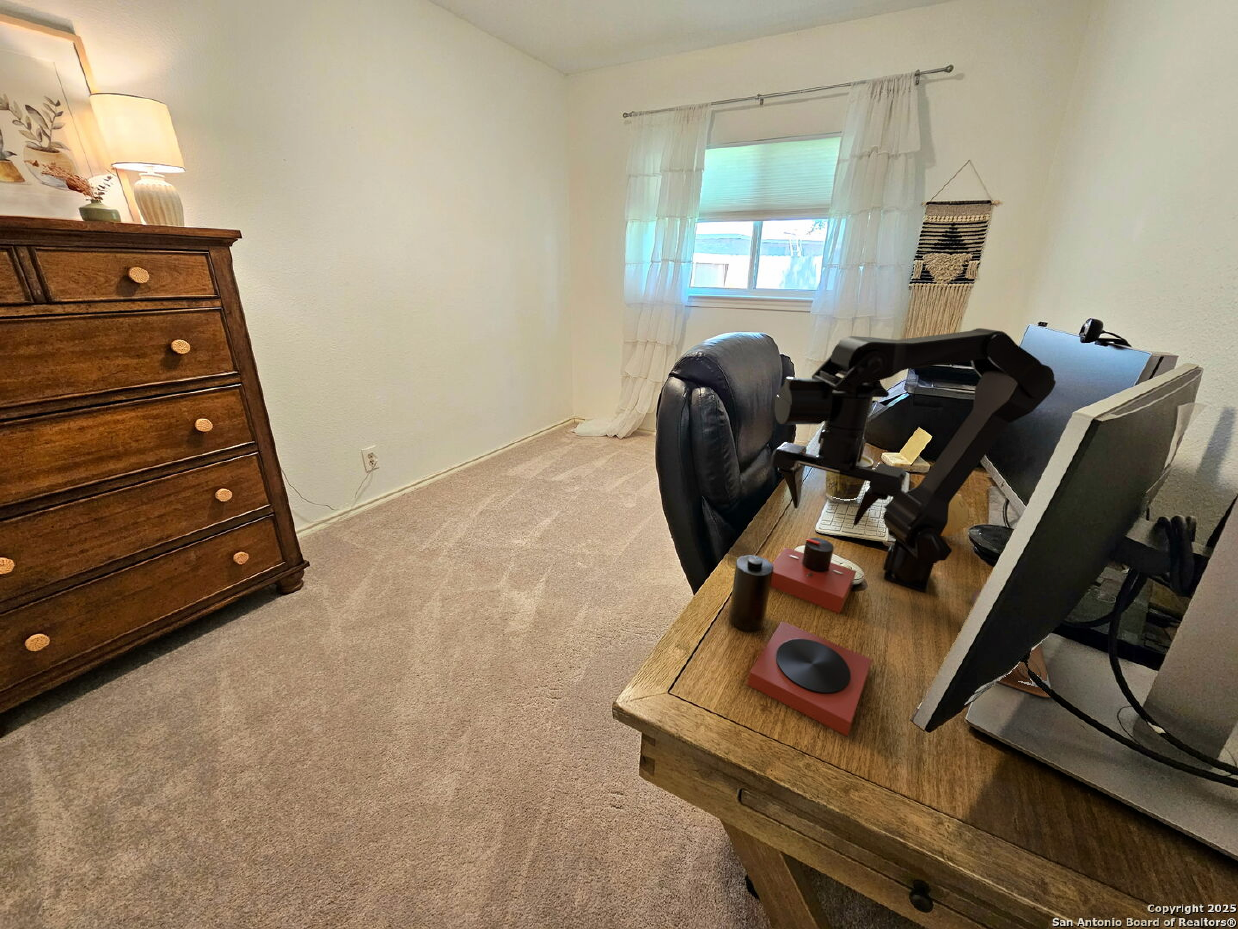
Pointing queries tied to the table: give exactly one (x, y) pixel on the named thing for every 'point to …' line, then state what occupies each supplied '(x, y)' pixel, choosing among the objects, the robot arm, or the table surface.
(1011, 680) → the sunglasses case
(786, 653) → the hot plate
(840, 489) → the ceramic cup
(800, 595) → the control panel
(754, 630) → the black battery
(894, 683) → the table surface
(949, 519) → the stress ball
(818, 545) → the hob knob
